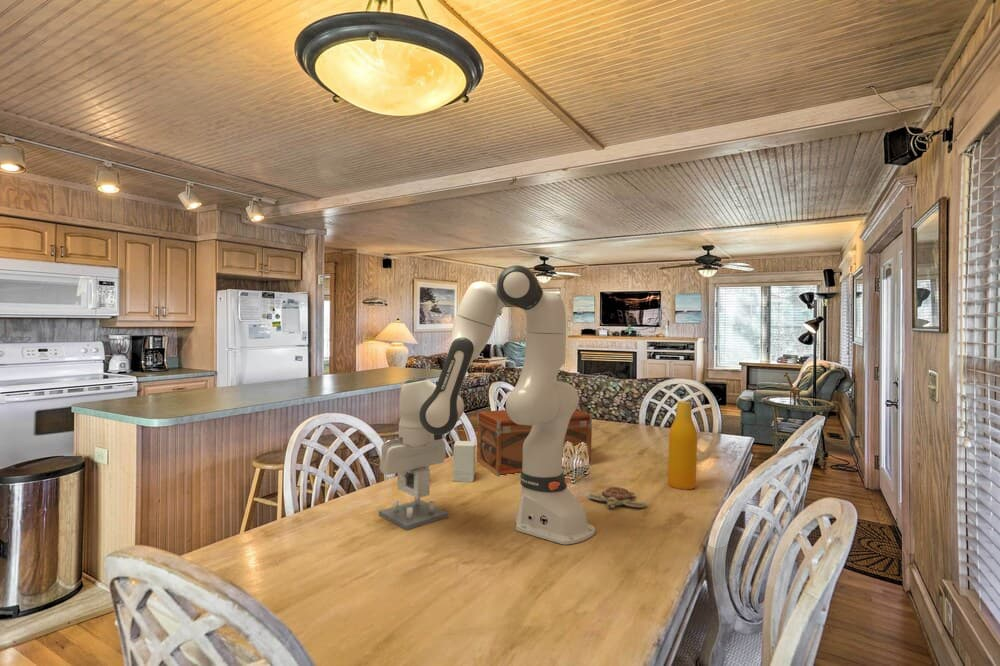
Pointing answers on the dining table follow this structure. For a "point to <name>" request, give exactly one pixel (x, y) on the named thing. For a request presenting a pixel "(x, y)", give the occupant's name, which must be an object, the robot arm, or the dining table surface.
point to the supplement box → (464, 461)
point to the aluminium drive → (416, 482)
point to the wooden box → (518, 439)
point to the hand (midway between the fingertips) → (413, 483)
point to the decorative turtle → (617, 497)
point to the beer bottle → (682, 449)
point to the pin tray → (413, 513)
